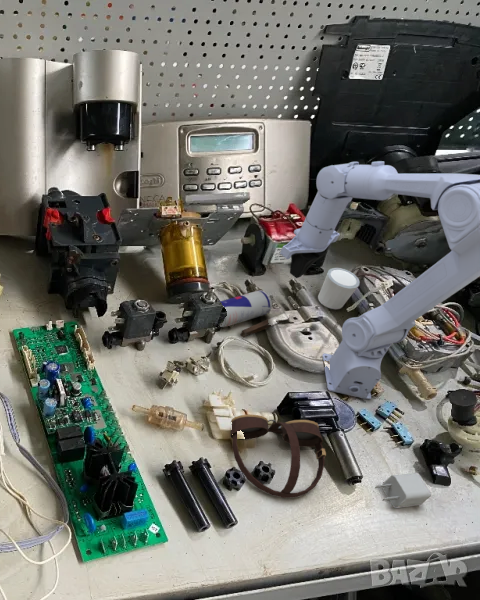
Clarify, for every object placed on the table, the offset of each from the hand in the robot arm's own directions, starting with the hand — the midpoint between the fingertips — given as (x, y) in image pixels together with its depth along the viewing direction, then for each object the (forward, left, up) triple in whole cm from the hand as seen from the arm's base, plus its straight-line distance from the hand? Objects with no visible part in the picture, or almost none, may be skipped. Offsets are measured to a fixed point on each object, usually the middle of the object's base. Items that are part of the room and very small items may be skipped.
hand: (295, 274), depth 111 cm
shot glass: (+4, -11, -9) cm, 15 cm away
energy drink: (-4, +5, -6) cm, 8 cm away
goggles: (-41, +4, -9) cm, 42 cm away
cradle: (-6, +7, -8) cm, 12 cm away
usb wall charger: (-42, -15, -9) cm, 46 cm away
